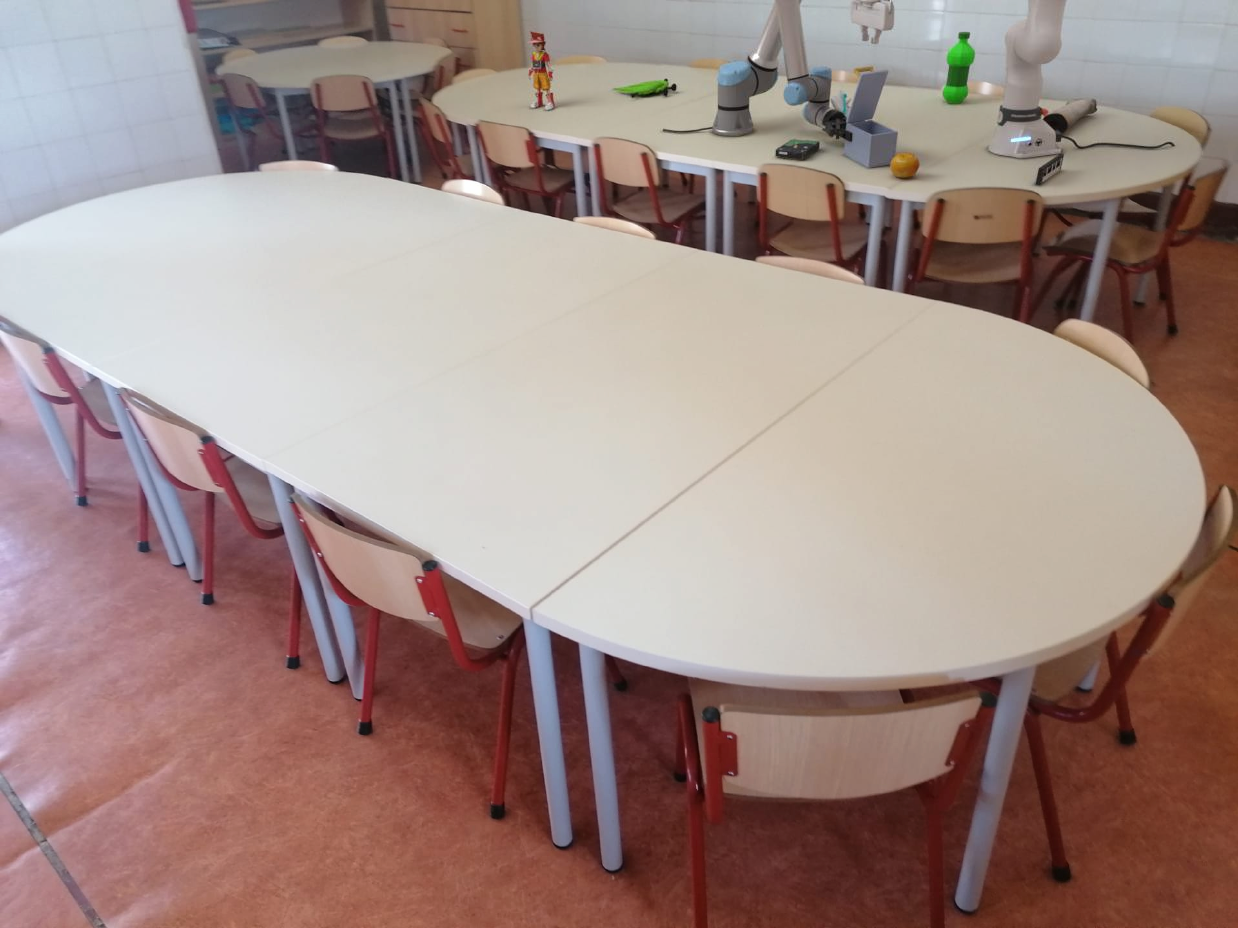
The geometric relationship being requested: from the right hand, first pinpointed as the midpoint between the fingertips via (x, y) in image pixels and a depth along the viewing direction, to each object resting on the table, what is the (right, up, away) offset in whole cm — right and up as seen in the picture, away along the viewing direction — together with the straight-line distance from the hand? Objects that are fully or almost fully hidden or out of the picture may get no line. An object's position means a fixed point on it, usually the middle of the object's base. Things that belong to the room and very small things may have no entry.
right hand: (869, 42), depth 285 cm
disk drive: (-18, -27, +24) cm, 41 cm away
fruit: (+10, -44, -2) cm, 45 cm away
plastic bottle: (+53, +9, +70) cm, 88 cm away
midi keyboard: (+52, -47, -10) cm, 70 cm away
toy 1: (-113, +18, +98) cm, 150 cm away
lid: (+1, -14, +8) cm, 17 cm away
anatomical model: (+7, 0, +60) cm, 61 cm away
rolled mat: (+81, -12, +37) cm, 90 cm away
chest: (+4, -32, +15) cm, 36 cm away
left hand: (+2, -24, +14) cm, 28 cm away
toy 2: (-70, +31, +112) cm, 136 cm away
